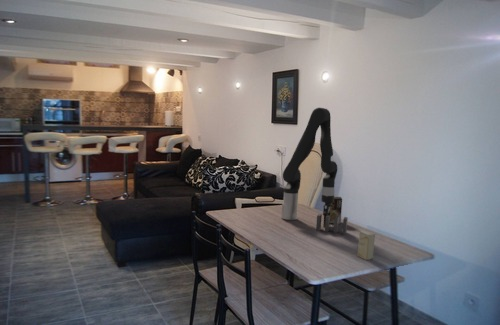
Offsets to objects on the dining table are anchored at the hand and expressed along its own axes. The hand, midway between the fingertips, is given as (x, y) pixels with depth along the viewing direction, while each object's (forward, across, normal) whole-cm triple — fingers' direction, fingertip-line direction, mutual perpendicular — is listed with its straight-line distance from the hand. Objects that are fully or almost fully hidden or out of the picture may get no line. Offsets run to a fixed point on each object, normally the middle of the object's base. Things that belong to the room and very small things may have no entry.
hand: (326, 220), depth 234 cm
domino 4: (+4, +10, +7) cm, 12 cm away
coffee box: (+4, -14, +2) cm, 14 cm away
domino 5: (+4, +10, +12) cm, 16 cm away
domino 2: (+4, 0, -1) cm, 4 cm away
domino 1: (+4, +10, -3) cm, 11 cm away
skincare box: (+5, +47, +26) cm, 53 cm away
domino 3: (+4, +10, +2) cm, 10 cm away
